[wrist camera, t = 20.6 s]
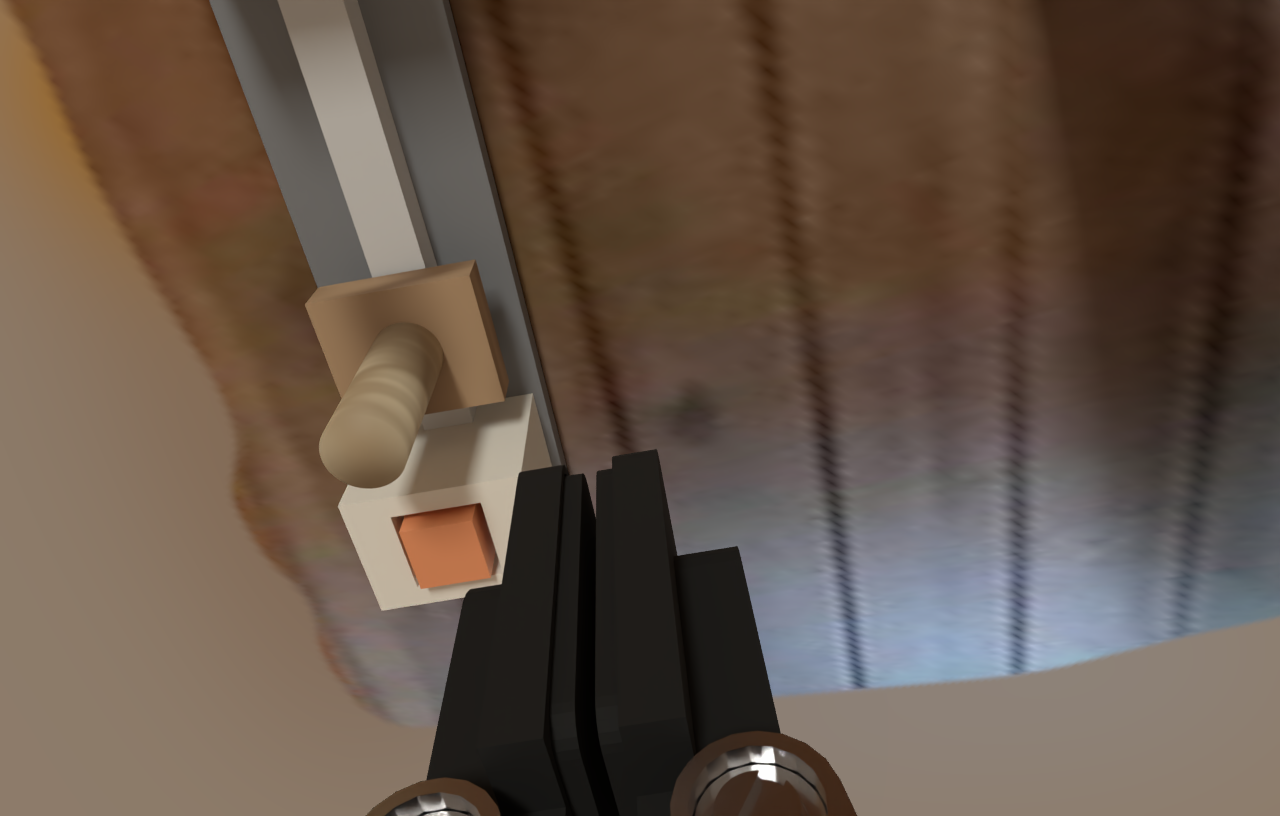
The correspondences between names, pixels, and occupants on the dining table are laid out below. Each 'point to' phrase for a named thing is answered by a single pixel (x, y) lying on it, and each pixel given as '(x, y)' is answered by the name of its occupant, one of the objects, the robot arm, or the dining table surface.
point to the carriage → (402, 363)
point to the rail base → (427, 148)
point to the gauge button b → (449, 545)
